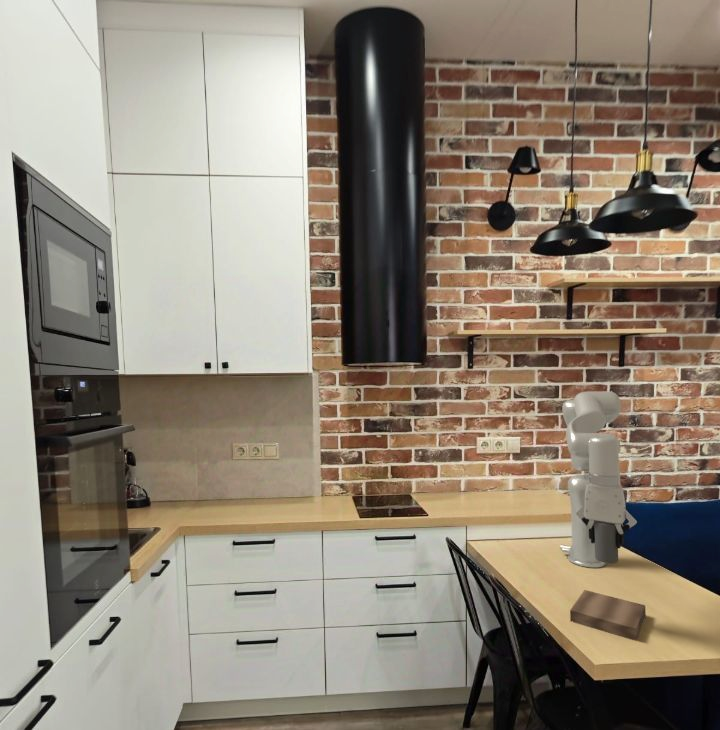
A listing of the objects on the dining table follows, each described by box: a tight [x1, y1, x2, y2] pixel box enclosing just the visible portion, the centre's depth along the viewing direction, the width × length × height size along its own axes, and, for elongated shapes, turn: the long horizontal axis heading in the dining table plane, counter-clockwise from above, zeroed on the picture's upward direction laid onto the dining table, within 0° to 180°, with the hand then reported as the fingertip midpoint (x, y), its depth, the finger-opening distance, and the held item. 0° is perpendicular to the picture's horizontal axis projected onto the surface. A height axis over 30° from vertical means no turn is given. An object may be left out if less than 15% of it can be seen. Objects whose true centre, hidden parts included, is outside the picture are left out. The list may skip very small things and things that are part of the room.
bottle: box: [594, 521, 619, 564], centre depth 131 cm, size 6×6×15 cm
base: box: [569, 589, 647, 642], centre depth 131 cm, size 16×16×3 cm
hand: (606, 543), depth 131 cm, fingers closed on bottle, 5 cm apart
